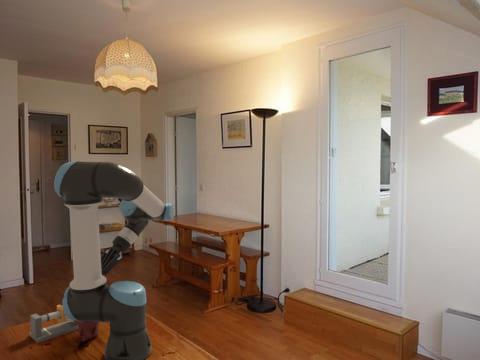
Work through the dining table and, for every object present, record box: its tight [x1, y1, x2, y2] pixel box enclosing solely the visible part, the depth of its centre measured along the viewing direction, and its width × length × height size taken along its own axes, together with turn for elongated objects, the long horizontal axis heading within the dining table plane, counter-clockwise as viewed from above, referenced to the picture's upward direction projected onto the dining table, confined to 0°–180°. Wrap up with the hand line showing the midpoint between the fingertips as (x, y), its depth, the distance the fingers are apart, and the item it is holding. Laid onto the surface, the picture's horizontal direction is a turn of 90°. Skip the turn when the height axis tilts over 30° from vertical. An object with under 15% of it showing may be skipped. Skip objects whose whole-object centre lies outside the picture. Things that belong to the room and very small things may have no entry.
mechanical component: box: [74, 320, 100, 342], centre depth 132 cm, size 12×10×10 cm
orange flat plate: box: [56, 304, 67, 323], centre depth 138 cm, size 1×5×5 cm, turn 48°
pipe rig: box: [29, 310, 79, 343], centre depth 137 cm, size 17×8×8 cm, turn 137°
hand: (87, 287), depth 145 cm, fingers closed
